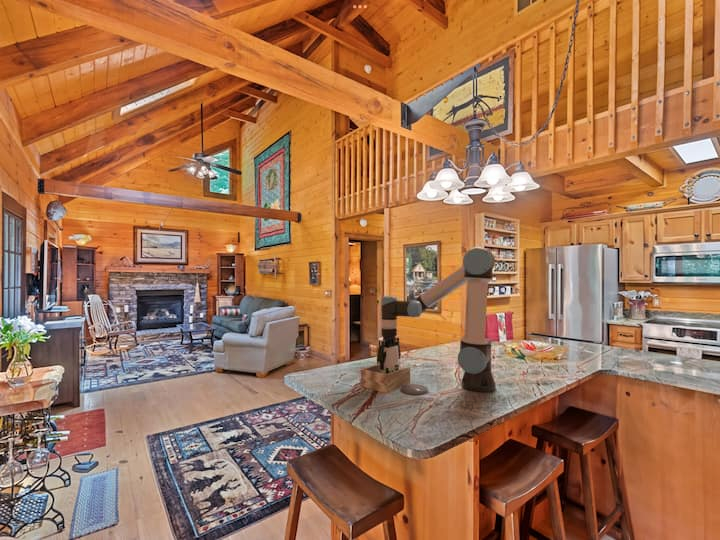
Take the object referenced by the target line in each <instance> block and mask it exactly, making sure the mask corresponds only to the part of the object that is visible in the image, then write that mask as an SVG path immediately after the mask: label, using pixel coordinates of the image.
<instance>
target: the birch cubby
mask: <svg viewBox="0 0 720 540" xmlns="http://www.w3.org/2000/svg"><path fill="white" fill-rule="evenodd" d="M408 384H411V366H406V367H401V368H399V370H397V371H394V372H391V373H388V374H382V373H380V364H377V363H376V364H374V365H370V366H367V367H364V368H361V369H360V387H363V388H365V389H366V388H367V389H370V390H373V391H377V392H380V393H384V394H388V393H391V392H393V391H395V390H397V389H399V388H400V389H401V387H402V386H404V385H408Z"/></svg>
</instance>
